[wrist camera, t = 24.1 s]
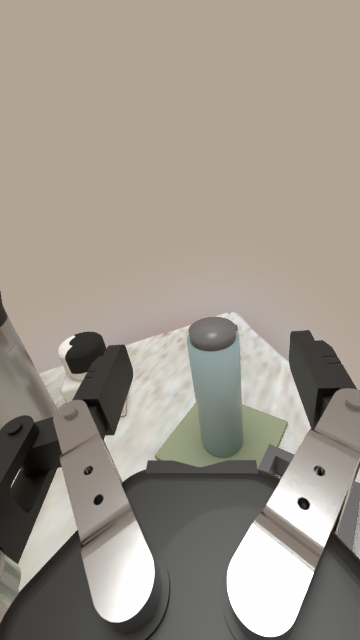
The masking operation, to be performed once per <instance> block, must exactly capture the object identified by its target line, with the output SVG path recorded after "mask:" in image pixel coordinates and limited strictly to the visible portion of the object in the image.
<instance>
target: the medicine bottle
mask: <svg viewBox="0 0 360 640" xmlns="http://www.w3.org/2000/svg"><path fill="white" fill-rule="evenodd" d="M105 351H106V346H105V343H104V341H103V338H102V336H101V335H99V334H98V333H95V332H83V333H79V334H76V335H74V336H72V337H70V338H68V339H66V340H65V341H64V342H63V343H62V344H61V345H60V347H59V349H58V355H59V358H60V360H61V362H62V364H63V366H64V368H65V371H66V376H65V379H64V382H63V385H62V389H61V393H62V395H63V397H64V399H65V401H66V403H67V402H69V401H72V399H73V397H74V396H75V394H76V392H77V390H78V388H79V386H80V384H81V383H82V381H83V379H84V377H85V375H86V373H87V372H88V369H89V368H90V366H91V364H92V363H93V362H94V361H95V360H96V359H97V358H98V357H99V356H103V355H104V353H105ZM124 415H126V401H125V404H124V407H123V410H122V413H121V416H124Z"/></svg>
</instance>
